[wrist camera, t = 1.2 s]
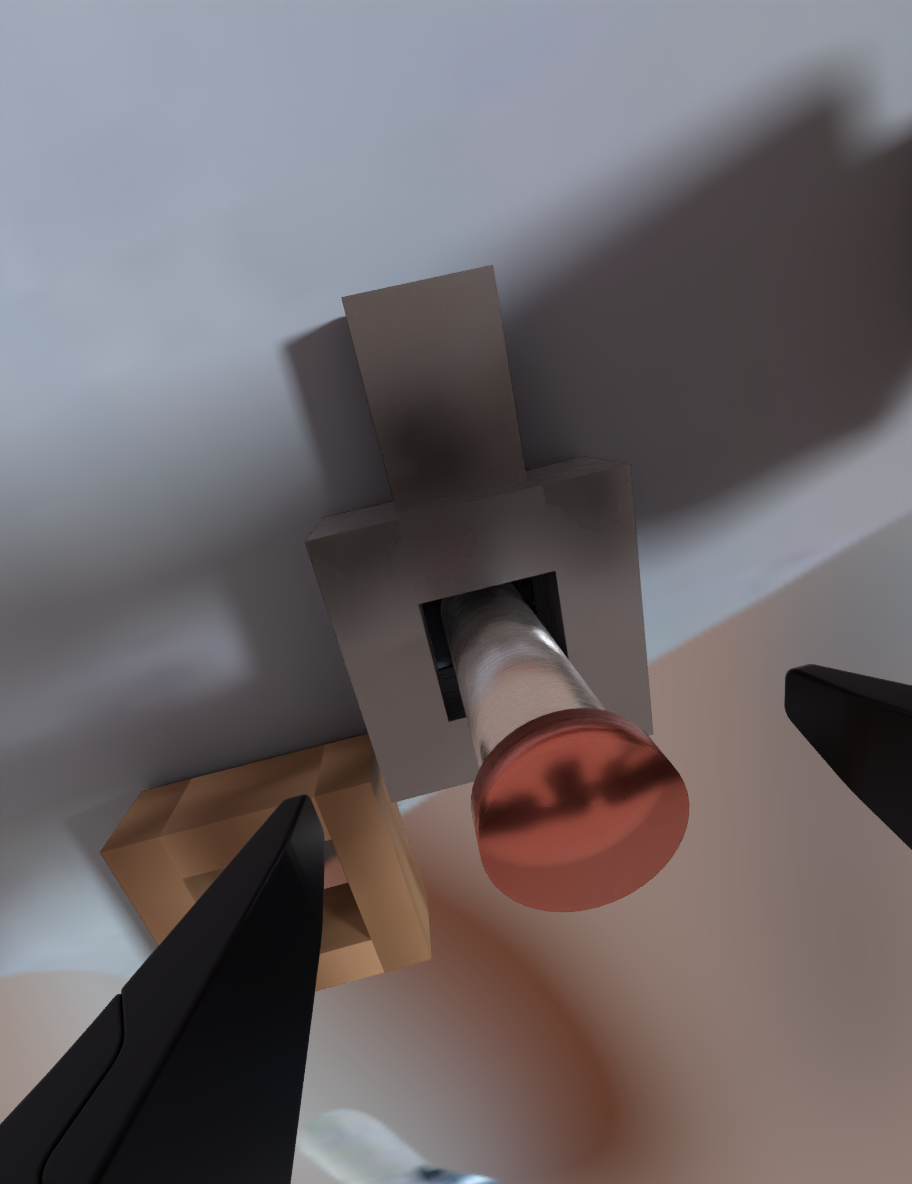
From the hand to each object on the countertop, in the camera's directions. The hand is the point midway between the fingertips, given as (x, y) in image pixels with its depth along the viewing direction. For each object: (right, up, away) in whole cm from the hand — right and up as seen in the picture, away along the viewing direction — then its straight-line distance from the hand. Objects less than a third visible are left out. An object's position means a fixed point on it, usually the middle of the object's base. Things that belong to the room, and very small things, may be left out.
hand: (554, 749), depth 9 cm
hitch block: (-1, +5, +6) cm, 8 cm away
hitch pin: (-1, +2, +7) cm, 7 cm away
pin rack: (-8, -7, +9) cm, 14 cm away
